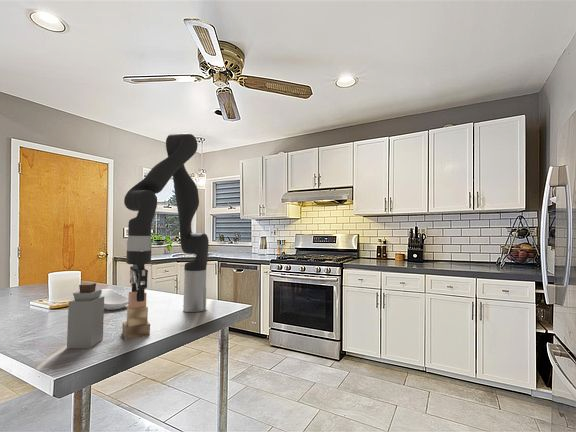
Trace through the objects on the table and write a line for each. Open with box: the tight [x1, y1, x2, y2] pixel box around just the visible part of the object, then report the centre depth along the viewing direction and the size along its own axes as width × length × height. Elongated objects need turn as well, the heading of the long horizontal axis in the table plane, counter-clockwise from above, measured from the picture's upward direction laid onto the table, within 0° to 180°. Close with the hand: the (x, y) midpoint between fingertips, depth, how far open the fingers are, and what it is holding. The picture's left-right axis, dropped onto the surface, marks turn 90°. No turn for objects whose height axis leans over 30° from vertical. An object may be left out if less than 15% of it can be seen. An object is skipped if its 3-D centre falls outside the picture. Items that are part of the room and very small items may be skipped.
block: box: [127, 291, 147, 309], centre depth 103 cm, size 4×4×4 cm
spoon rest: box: [99, 288, 129, 311], centre depth 139 cm, size 24×12×7 cm, turn 50°
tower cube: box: [126, 304, 149, 327], centre depth 103 cm, size 6×6×6 cm
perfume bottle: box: [66, 282, 105, 349], centre depth 94 cm, size 7×7×18 cm
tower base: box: [121, 320, 151, 340], centre depth 103 cm, size 7×7×4 cm
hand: (137, 298), depth 103 cm, fingers open, 7 cm apart
